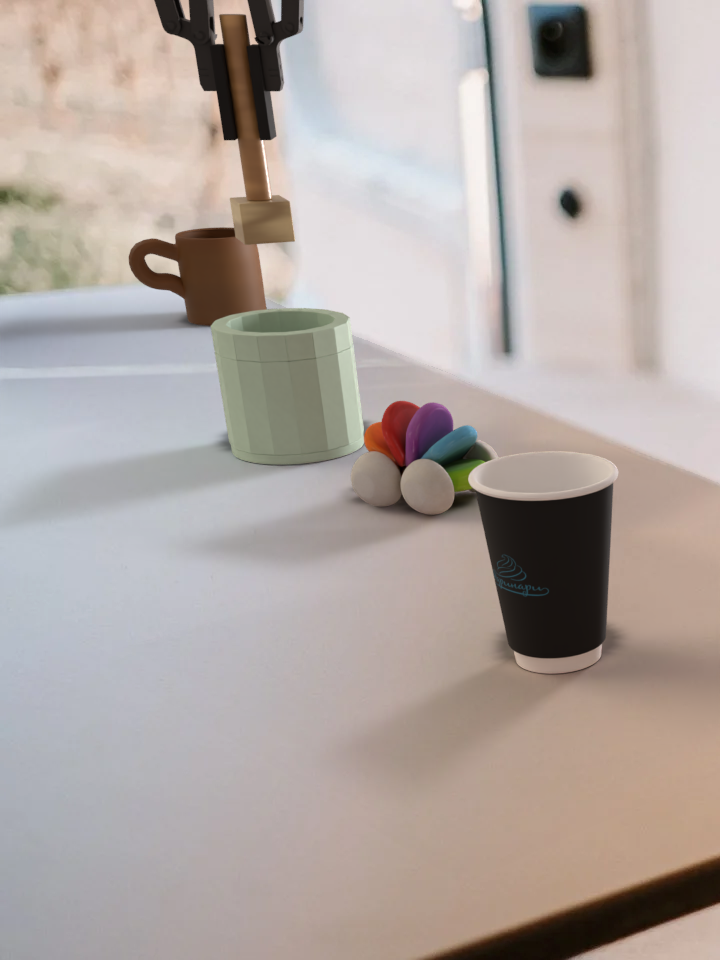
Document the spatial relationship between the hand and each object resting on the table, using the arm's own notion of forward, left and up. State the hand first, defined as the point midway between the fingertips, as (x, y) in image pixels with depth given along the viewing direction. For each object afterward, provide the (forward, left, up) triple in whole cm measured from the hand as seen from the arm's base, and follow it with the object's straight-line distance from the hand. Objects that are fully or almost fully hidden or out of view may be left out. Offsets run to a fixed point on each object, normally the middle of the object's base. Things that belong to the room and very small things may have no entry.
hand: (250, 137), depth 119 cm
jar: (+1, -1, -23) cm, 23 cm away
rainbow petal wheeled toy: (+12, -16, -24) cm, 31 cm away
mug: (-14, +44, -24) cm, 52 cm away
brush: (0, 0, -7) cm, 7 cm away
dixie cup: (+21, -46, -24) cm, 56 cm away
